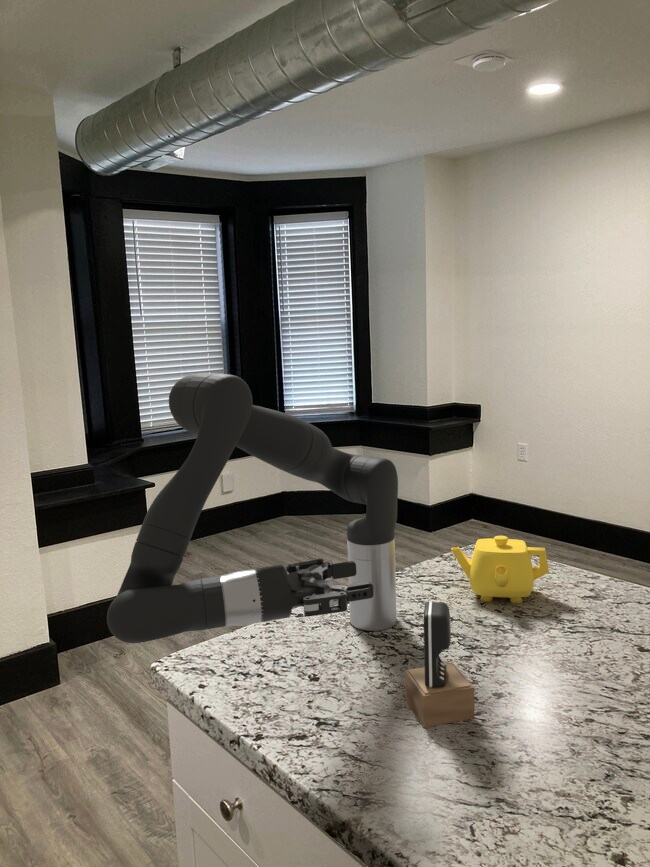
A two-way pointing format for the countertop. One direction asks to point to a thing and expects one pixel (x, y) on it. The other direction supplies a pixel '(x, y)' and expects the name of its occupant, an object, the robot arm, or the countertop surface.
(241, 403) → the robot arm
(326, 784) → the countertop surface
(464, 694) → the wooden box
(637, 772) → the countertop surface
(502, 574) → the teapot
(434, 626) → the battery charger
